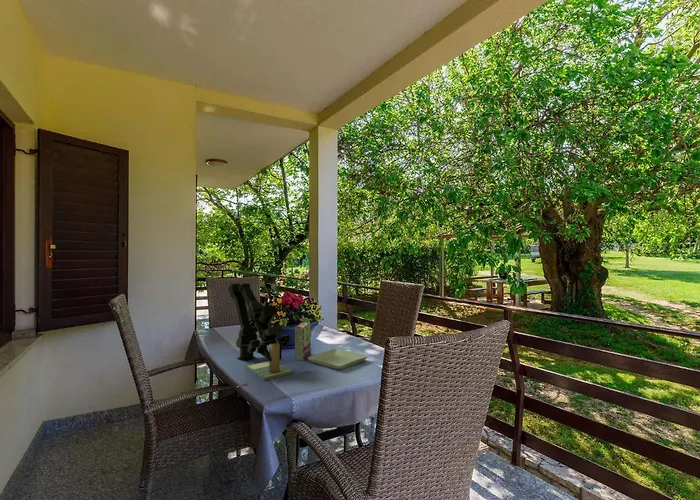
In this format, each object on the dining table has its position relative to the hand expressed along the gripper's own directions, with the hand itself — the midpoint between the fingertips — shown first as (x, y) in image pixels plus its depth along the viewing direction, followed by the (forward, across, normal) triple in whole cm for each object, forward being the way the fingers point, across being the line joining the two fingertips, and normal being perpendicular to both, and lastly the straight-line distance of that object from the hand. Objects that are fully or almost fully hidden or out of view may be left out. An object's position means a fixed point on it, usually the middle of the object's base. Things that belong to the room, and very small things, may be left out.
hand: (275, 360), depth 164 cm
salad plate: (+7, +32, +3) cm, 32 cm away
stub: (+4, 0, +6) cm, 7 cm away
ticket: (-3, 0, +12) cm, 12 cm away
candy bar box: (-6, +23, +15) cm, 28 cm away
